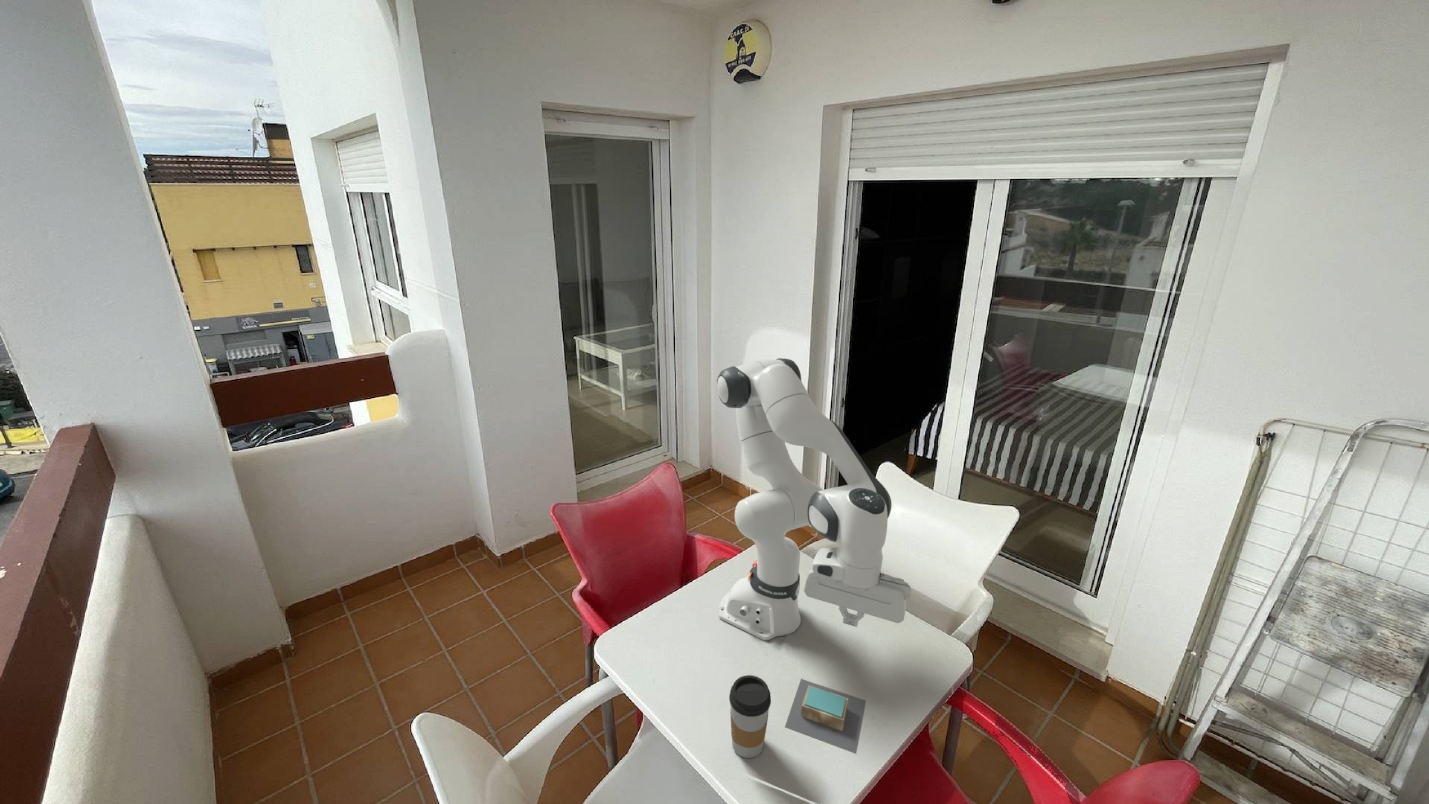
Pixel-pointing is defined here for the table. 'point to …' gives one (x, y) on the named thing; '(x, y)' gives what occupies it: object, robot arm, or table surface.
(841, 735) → the mat
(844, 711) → the plaque
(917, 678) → the table surface
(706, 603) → the table surface
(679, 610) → the table surface
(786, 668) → the table surface
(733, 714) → the coffee cup
